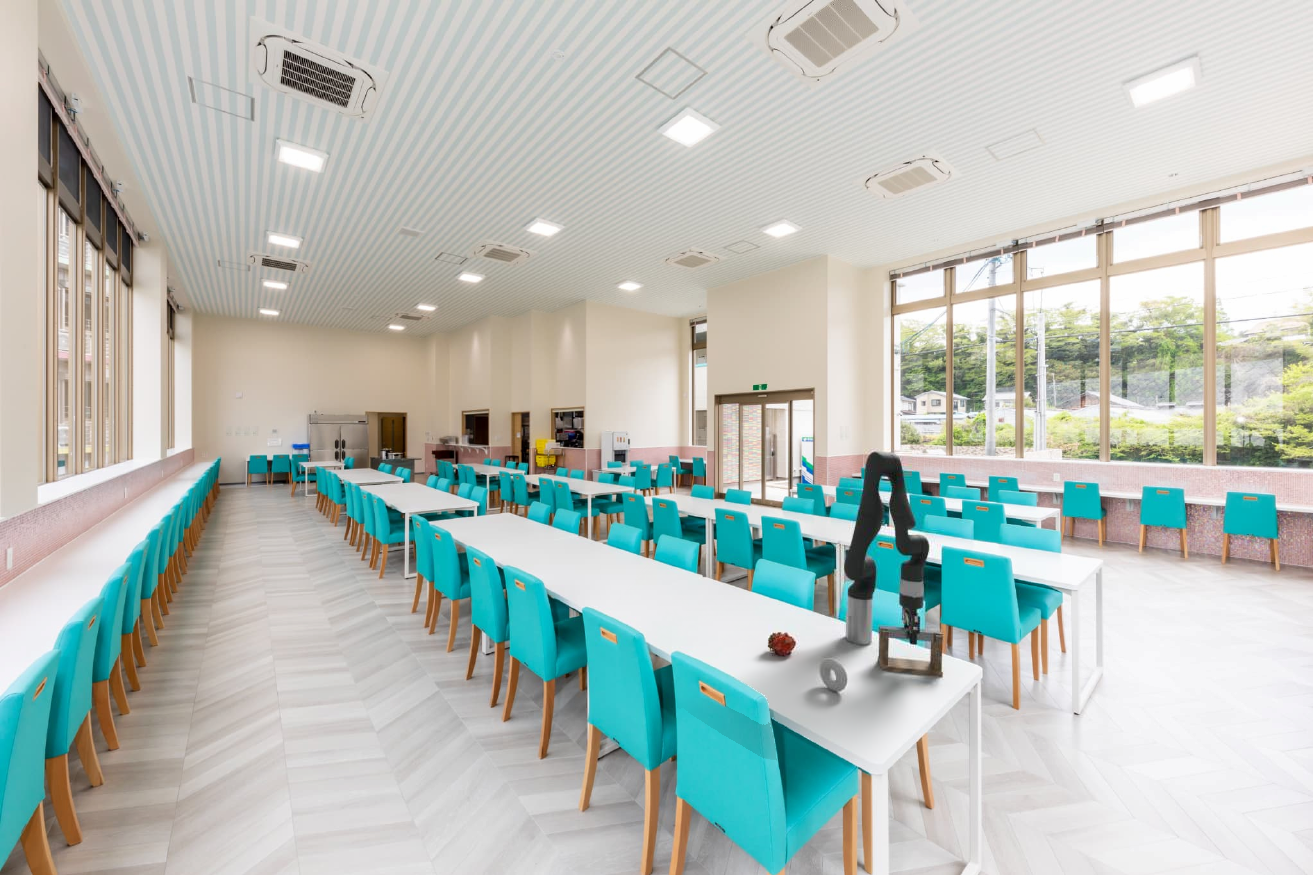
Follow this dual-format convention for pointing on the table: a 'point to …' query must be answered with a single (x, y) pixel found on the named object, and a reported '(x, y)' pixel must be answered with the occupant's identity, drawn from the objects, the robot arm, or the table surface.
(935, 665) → the walnut stand
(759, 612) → the table surface
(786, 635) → the red bumpy oval lump
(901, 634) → the steel bar
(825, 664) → the donut
